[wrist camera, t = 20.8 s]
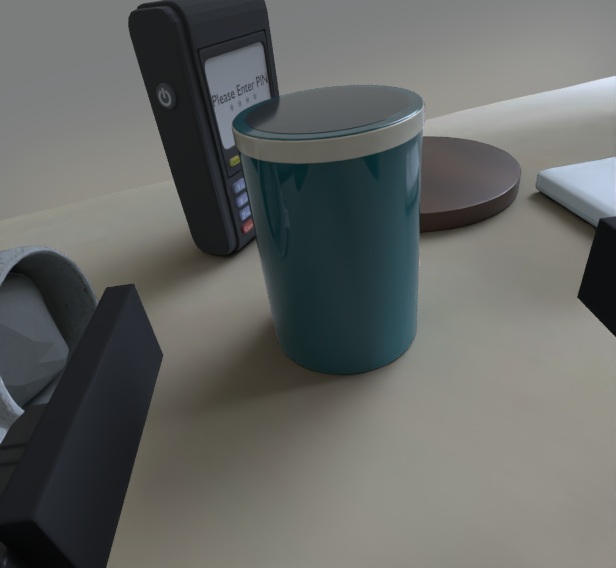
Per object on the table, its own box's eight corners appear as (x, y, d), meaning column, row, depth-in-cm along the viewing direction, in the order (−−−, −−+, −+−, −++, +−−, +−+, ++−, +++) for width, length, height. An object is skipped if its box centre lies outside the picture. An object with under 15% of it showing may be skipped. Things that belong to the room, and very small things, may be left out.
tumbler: (354, 267, 28) (341, 77, 22) (449, 326, 23) (469, 96, 16) (250, 320, 25) (200, 116, 19) (331, 402, 20) (299, 155, 13)
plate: (411, 140, 46) (411, 126, 45) (562, 179, 35) (566, 161, 34) (279, 189, 40) (277, 174, 39) (413, 258, 28) (413, 238, 27)
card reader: (235, 264, 30) (171, 0, 21) (189, 255, 32) (113, 7, 23) (301, 205, 36) (271, -17, 28) (259, 200, 38) (219, -10, 30)
